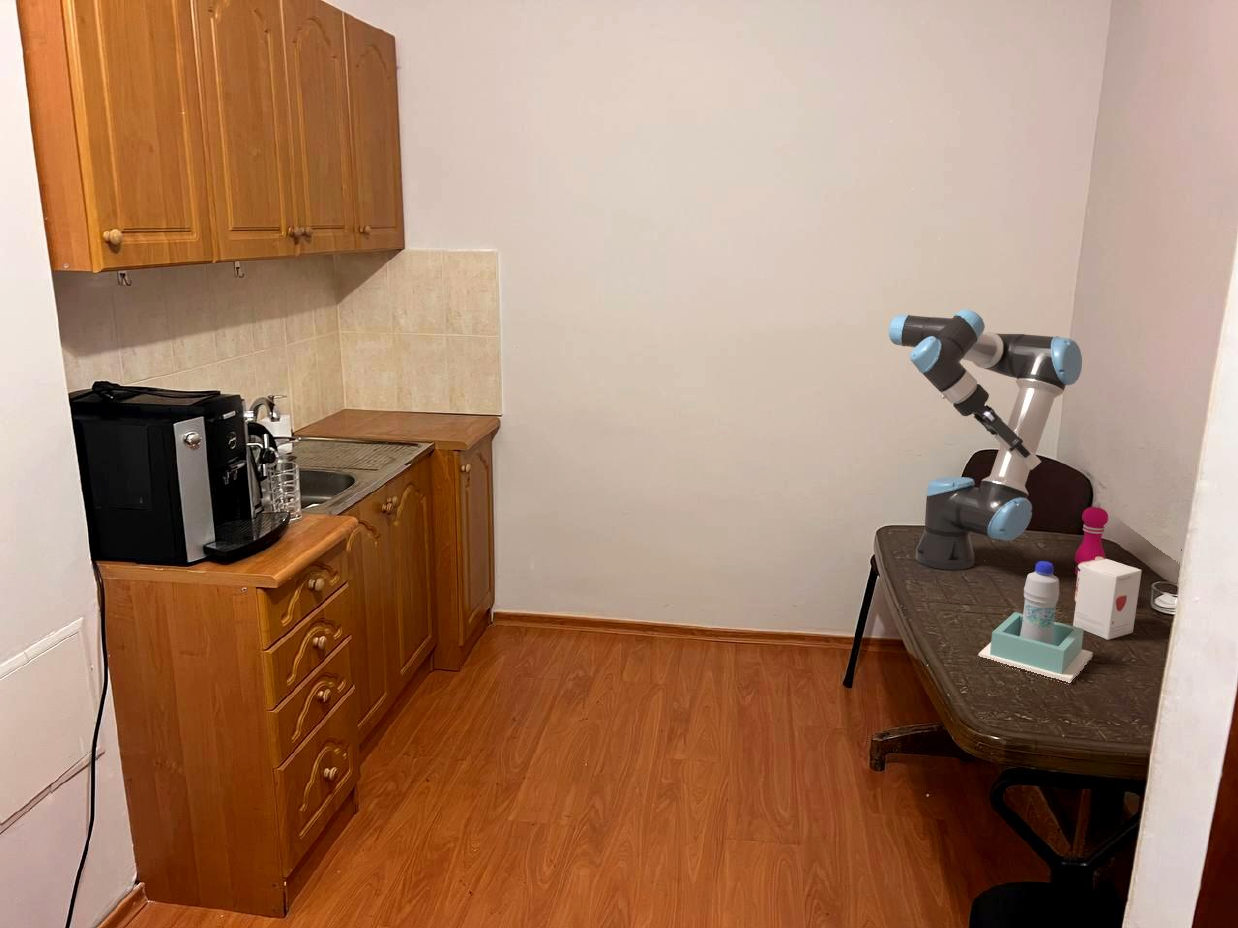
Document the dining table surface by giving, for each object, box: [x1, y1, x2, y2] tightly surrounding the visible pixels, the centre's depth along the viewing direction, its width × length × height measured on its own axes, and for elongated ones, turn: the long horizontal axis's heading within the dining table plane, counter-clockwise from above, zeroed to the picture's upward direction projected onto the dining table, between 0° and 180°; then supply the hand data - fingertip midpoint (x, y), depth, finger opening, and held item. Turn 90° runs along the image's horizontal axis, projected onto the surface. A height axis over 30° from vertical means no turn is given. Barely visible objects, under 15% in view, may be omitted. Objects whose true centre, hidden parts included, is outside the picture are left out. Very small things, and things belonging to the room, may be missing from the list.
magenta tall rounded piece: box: [1074, 501, 1109, 576], centre depth 239 cm, size 7×7×20 cm
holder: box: [977, 611, 1094, 684], centre depth 193 cm, size 18×16×6 cm
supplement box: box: [1072, 558, 1143, 641], centre depth 206 cm, size 9×9×15 cm
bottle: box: [1020, 560, 1060, 645], centre depth 191 cm, size 7×7×20 cm
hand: (1026, 458), depth 215 cm, fingers open, 13 cm apart
